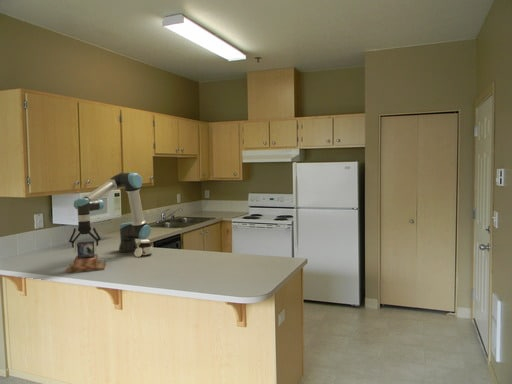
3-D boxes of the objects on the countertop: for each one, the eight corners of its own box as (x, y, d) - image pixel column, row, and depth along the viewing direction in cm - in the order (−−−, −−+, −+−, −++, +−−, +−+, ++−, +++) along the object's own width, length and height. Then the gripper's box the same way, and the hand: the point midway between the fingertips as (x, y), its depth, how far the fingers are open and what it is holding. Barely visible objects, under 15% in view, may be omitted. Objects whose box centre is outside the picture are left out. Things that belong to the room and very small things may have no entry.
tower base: (105, 263, 302) (105, 253, 301) (104, 269, 283) (103, 258, 283) (69, 266, 294) (68, 255, 294) (65, 273, 276) (65, 262, 276)
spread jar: (153, 254, 328) (153, 239, 327) (148, 257, 317) (147, 242, 316) (138, 254, 330) (138, 239, 329) (133, 257, 318) (132, 242, 317)
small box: (77, 259, 284) (76, 243, 283) (78, 256, 290) (77, 242, 289) (94, 257, 287) (93, 242, 286) (94, 255, 293) (94, 240, 292)
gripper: (63, 222, 279) (65, 254, 281) (103, 220, 286) (104, 250, 288) (65, 221, 286) (66, 251, 288) (103, 218, 294) (105, 248, 295)
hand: (85, 251), depth 288 cm, fingers open, 13 cm apart
